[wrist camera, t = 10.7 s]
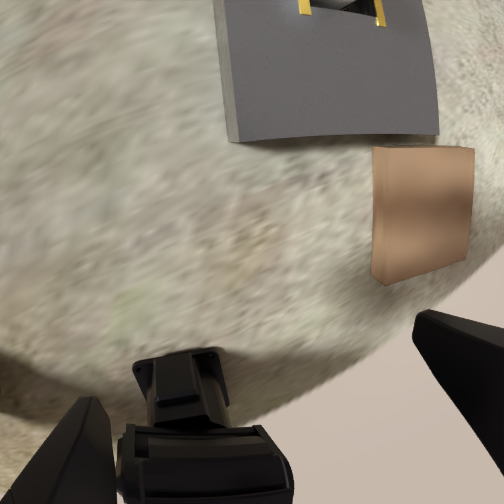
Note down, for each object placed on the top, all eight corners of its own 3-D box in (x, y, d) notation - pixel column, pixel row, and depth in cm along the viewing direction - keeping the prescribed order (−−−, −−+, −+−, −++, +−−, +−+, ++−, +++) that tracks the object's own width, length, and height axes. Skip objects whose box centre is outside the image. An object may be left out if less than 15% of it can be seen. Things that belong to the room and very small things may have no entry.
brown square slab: (451, 251, 26) (465, 259, 24) (370, 275, 24) (384, 286, 22) (457, 146, 22) (474, 148, 20) (372, 146, 20) (389, 148, 18)
